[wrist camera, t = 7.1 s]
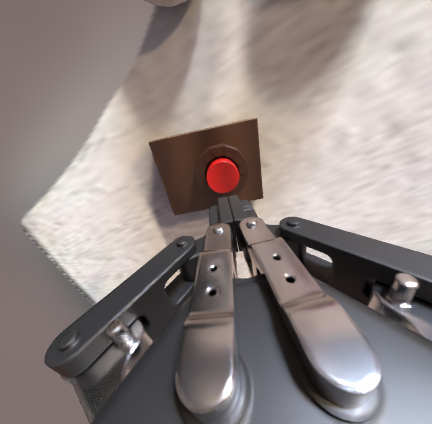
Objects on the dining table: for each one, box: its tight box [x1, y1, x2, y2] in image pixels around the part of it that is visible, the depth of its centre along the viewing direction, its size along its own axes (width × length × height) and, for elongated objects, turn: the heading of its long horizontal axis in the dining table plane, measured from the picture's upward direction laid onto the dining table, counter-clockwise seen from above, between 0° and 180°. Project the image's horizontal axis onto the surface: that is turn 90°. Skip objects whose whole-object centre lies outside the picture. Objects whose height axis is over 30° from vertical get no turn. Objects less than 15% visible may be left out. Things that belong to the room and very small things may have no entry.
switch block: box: [149, 118, 263, 215], centre depth 25 cm, size 14×11×4 cm
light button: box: [207, 158, 239, 193], centre depth 22 cm, size 4×4×2 cm
